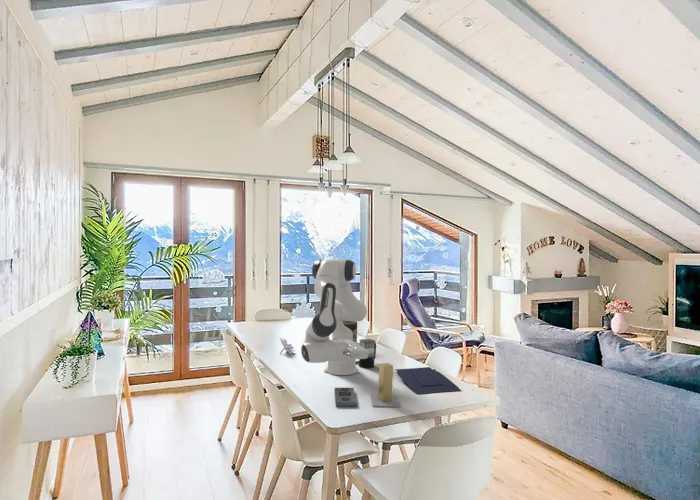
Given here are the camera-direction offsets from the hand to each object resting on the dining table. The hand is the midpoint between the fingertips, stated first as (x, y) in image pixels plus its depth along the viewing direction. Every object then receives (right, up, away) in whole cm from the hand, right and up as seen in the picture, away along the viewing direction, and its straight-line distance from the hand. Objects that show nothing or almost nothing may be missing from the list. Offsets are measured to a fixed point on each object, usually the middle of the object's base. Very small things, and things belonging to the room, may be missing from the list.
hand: (368, 347), depth 203 cm
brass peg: (+7, -24, +4) cm, 26 cm away
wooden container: (-11, -23, +103) cm, 106 cm away
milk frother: (-1, -24, +65) cm, 69 cm away
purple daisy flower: (-47, -22, +87) cm, 101 cm away
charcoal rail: (-11, -24, +7) cm, 27 cm away
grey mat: (+7, -25, +4) cm, 26 cm away
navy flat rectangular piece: (+30, -26, +32) cm, 51 cm away
